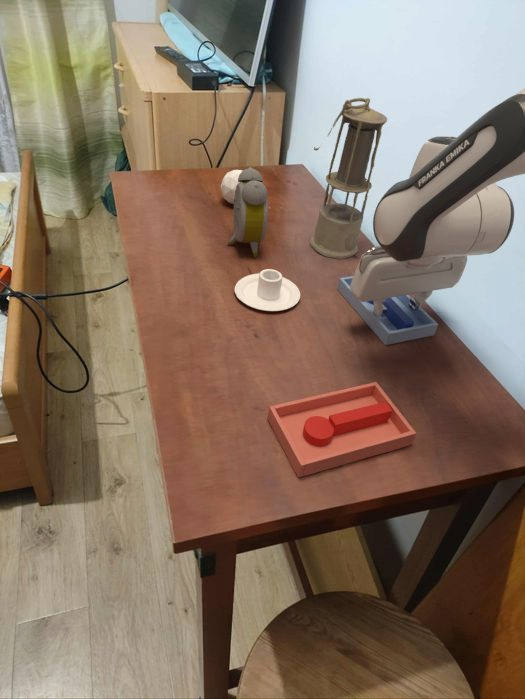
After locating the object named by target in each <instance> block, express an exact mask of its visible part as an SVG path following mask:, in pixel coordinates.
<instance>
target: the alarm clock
mask: <svg viewBox="0 0 525 699" xmlns="http://www.w3.org/2000/svg"><path fill="white" fill-rule="evenodd" d="M238 182H240V183H238V184H237V186H236V190H235V197H234V204H233V231H234V232H233V234H232V235H231V237H230V238H229V239H228V241H227V243H226V244H227V245H228V246H231V245H233V244H234V243H236V242H238V243H244V244H245V243H247V244H248V243H249V245H250V249H251V251H252V252H251V253H252V255H253V258H255V257H258V252H259V251H258V248H259V243H262V242H263V241H264V240H265V238H266V235H267V229H268V221H269V220H268V219H269V199H268V189H267V187H266V185H265V184H264V183H263V176H262V174H261V172H260V171H258V170H257V169H255V168H253V167H252V166H249V167H248V168H245V169H243V171H242V172H241V173H240V175H239V178H238ZM241 182H242V183H241Z"/></svg>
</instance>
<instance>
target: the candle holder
mask: <svg viewBox="0 0 525 699" xmlns="http://www.w3.org/2000/svg"><path fill="white" fill-rule="evenodd" d="M233 291H234V293H235V296H236V298H237V299H238V300H239V301H241V302H242V303H243V304H245V305H246V306H248V307H251V308H253V309H256V310H260V311H266V312H279V311H284V310H288V309H290V308H291V309H292V308H293V307H294V306H295V305H297V304H298V302H299V301H300V299H301V291H300V289H299V288H298V286H297V285H296V284H295V283H294V282H292V280H290V279H288V278H286V277H284V276H283V274H282V273H281V272H280V271H278V270H276V269H272V268H266V269H263V270H261V271H260V272H259V273H253V274H249V275H245V276H243V277H241V278H240V279H238V281H237V282H236V284H235V286H234V290H233Z"/></svg>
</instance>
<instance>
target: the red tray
mask: <svg viewBox="0 0 525 699" xmlns="http://www.w3.org/2000/svg"><path fill="white" fill-rule="evenodd" d="M382 402H386V403H387V404H388V406H389V407H390V408H391V410H392V413H391V415H390V418H389V420H388V422H386V423H382V424H378V425H374V426H370V427H367V428H363V429H359V430H355V431H351V432H348V433H344V434H340V435H336V436H332V440H331V442H330V443H329V444H327V445H325V446H314V445H311V444H310V443H308V442H307V441H306V440H305V439H304V437H303V428H304V424H305V421H306V420H307V419H308V418H310V417H313V416H321V417H324V418H326V419H329V416H330V415H333V414H337V413H341V412H345V411H350V410H354V409H358V408H362V407H366V406H370V405H374V404H378V403H382ZM267 421H268V423H269V425H270V427H271V429H272V431H273V432H274V434H275V437H276V438H277V440H278V442H279V444H280V446H281V447H282V449H283V451H284V453H285V455H286V457H287V459H288V461H289V462H290V463H289V464H290V465H291V466H292V469H293V470H294V472H295V474H296V476H297V478H302V477H306V476H309V475H312V474H315V473H320V472H323V471H326V470H330V469H333V468H336V467H340V466H344V465H346V464H349V463H353V462H356V461H361V460H364V459H368V458H370V457H374V456H378V455H381V454H385V453H389V452H391V451H394V450H398V449H402V448H405V447H409V446H412V444H413V441H414V439H415V438H416V435H417V432H416V431H415V430H414V428H413V427H412V426H411V425H410V423H409V422H408V420H407V419H406V418H405V416H403V414H402V413H401V412H400V410H399V409H398V408H397V406H396V405H395V404H394V402H393V401H392V400H391V399H390V397H389V396H388V395H387V394H386V392H385V391H384V390H383V388H381V386H380V384H378V382H377V381H374V382H370V383H365V384H361V385H356V386H353V387H348V388H344V389H339V390H334V391H330V392H326V393H322V394H318V395H317V394H316V395H313V396H308V397H304V398H301V399H296V400H292V401H287V402H282V403H279V404H274V405H270V406H269V407H268V413H267Z"/></svg>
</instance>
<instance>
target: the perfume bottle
mask: <svg viewBox="0 0 525 699" xmlns="http://www.w3.org/2000/svg"><path fill="white" fill-rule="evenodd" d="M243 170H244V169H243ZM243 170H242V169H232V170H230V171H227V173H226V174H225V175H224V177H223V178H222V180H221V183H220V192H221V194H222V198H223V199H224V200H226V201H227V202H228V203H229V204H230V205H234V197H235V190H236V186H237V184H238V183H240V182H238V178H239V175H240V173H241V172H242V171H243ZM241 183H242V182H241Z"/></svg>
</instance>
